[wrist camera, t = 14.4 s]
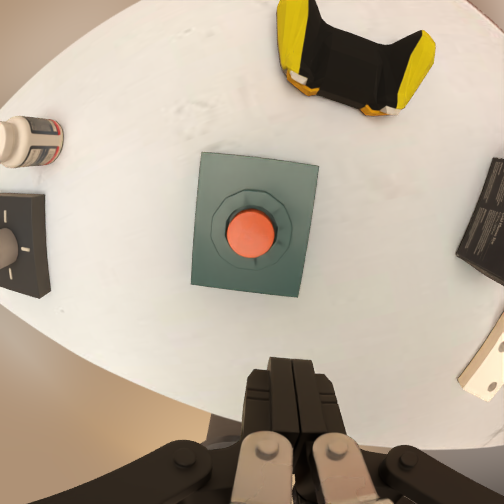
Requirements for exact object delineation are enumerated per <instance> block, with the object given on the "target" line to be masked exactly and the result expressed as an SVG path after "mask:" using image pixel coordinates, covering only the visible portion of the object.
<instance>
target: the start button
mask: <svg viewBox="0 0 504 504" xmlns="http://www.w3.org/2000/svg"><path fill="white" fill-rule="evenodd" d="M227 240H228V243H229V245H230V247H231V248H232V250H233V251H234V252H236V253H237V254H238V255H240V256H243V257H247V258H255V257H259V256H261V255H263V254H265V253H266V252H267V251H268V250H269V249H270V247H271V246H272V244H273V241H274V229H273V224H272V222H271V220H270V218H269V217H268V216H267V215H266V214H265V213H264V212H262V211H260V210H257V209H246V210H243V211H241V212H239V213H237V214H236V215H235V216H234V217H233V219H232V221H231V222H230V224H229V226H228V229H227Z"/></svg>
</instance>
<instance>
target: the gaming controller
mask: <svg viewBox="0 0 504 504" xmlns="http://www.w3.org/2000/svg"><path fill="white" fill-rule="evenodd" d="M276 17H277V45H278V52H279V58H280V65H281V68H282V71H283V72H284V73H285V74H286V75H287V80H288V81H289V82H290V83H292V84H293V85H294V86H295V87H296V88H298V89H299V90H300V91H301V92H302V93H304V94H306V95H307V96H311V95H315V94H316V95H319V96H322V97H325V98H328V99H331V100H335V101H338V102H340V103H343V104H346V105H349V106H352V107H355V108H357V109H360V110H361V111H362V112H363V113H364V114H365V115H368V116H378V115H398V114H399V112H400V110H401V109H403V108H405V106H406V105H407V103H408V102H409V100H410V99H411V97H412V96H413V94H414V93H415V91H416V90H417V88H418V87H419V85H420V84H421V82H422V81H423V79H424V78H425V76H426V75H427V73H428V72H429V70H430V68H431V67H432V65H433V64H434V57H435V49H436V47H435V42H434V41H433V39H432V38H431V36H430V35H429V34H428V33H427V32H425V31H424V30H420V31H417V32H415V33H413V34H411V35H409V36H407V37H405V38H403V39H401V40H399V41H397V42H395V43H393V44H390V45H382V44H378V43H375V42H373V41H370V40H368V39H365V38H362V37H360V36H357V35H354V34H352V33H349V32H346V31H343V30H340V29H337V28H334V27H332V26H330V25H328V24H326V22H325V21H324V20H323V19H322V18H321V15H320V12H319V9H318V7H317V4H316V1H315V0H280V1H279V4H278V6H277V12H276Z"/></svg>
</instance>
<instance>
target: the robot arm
mask: <svg viewBox="0 0 504 504" xmlns="http://www.w3.org/2000/svg"><path fill="white" fill-rule="evenodd" d="M292 474H295V484H294V486H293V489H292ZM404 496H406V497H407V498H406V497H404ZM292 498H293V504H415V503H417V504H504V496H502V495H500V494H498V493H496V492H494V491H492V490H490V489H488V488H486V487H484V486H483V485H481V484H479V483H476V482H475V481H473V480H471V479H469V478H468V477H465V476H464V475H462V474H460V473H458V472H457V471H455V470H453V469H451V468H450V467H448V466H446V465H444V464H442V463H441V462H439V461H437V460H436V459H434V458H432V457H431V456H429V455H427V454H426V453H424V452H422V451H421V450H419V449H417V448H415V447H413V446H409V445H400V446H396V447H394V448H392V449H391V450H390V451H389V453H388V454H381V453H375V452H369V451H365V450H362V449H360V448H359V446H358V444H357V443H356V441H355V440H353V439H352V438H351V437H349V436H347V434H346V431H345V427H344V424H343V420H342V416H341V413H340V409H339V406H338V404H337V398H336V395H335V391H334V388H333V384H332V383H331V381H330V380H329V379H328V378H327V377H326V376H325V375H324V374H315V372H314V368H313V363H312V361H311V360H303V359H291V360H290V359H288V358H277V357H270V358H269V362H268V367H267V370H259V369H254V370H253V371H252V372H251V374H250V375H249V376H248V378H247V385H246V391H245V398H244V404H243V415H242V427H241V438H240V440H239V441H238V442H237V443H235V444H234V445H232V446H230V447H227V448H223V449H216V450H208V449H206V448H205V447H204V446H203V445H201V444H199V443H197V442H194V441H190V440H176V441H173V442H170V443H168V444H166V445H164V446H162V447H160V448H159V449H157V450H155V451H153V452H151V453H149V454H147V455H145V456H143V457H141V458H139V459H137V460H135V461H133V462H131V463H129V464H127V465H125V466H123V467H121V468H119V469H116V470H114V471H112V472H110V473H108V474H105V475H103V476H101V477H99V478H97V479H94V480H92V481H89V482H87V483H84V484H82V485H79V486H77V487H74V488H72V489H69V490H67V491H64V492H61V493H58V494H55V495H53V496H50V497H47V498H44V499H41V500H38V501H34V502H31V503H28V504H291V501H292ZM408 498H409V499H410V500H409V499H408ZM411 500H412V501H414V502H415V503H414V502H412V501H411Z"/></svg>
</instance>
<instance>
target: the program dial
mask: <svg viewBox="0 0 504 504" xmlns="http://www.w3.org/2000/svg"><path fill="white" fill-rule="evenodd" d="M17 256H18V244H17V240H16V238H15V236H14V234H13V233H12V231H11V230H9V229H8V228H3V229H0V269H2V268H4V267H6V266H8V265H10V264H12V263H14V262H15V261H16V259H17Z"/></svg>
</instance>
